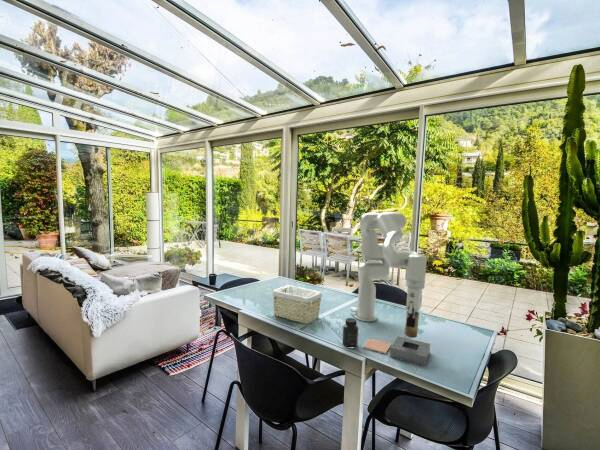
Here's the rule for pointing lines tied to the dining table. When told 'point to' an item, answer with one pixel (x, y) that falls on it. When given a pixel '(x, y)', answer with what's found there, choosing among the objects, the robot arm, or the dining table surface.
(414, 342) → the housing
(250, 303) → the dining table surface
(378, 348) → the tile
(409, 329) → the brown cylinder
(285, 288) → the storage basket
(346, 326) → the supplement bottle
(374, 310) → the robot arm
